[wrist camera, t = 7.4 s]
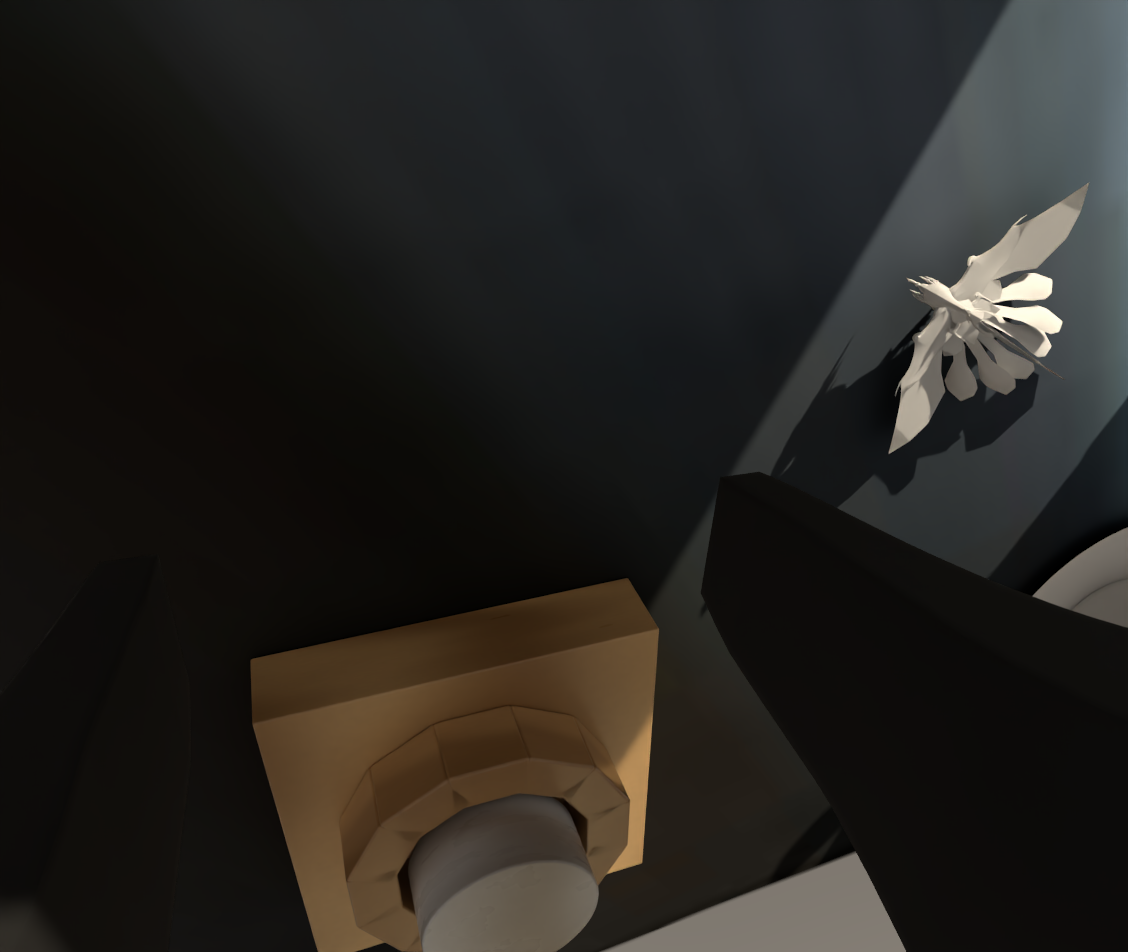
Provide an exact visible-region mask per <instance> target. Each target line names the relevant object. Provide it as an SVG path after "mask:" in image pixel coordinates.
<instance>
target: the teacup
mask: <svg viewBox="0 0 1128 952" xmlns="http://www.w3.org/2000/svg"><path fill="white" fill-rule="evenodd" d="M1033 597H1036V598H1038V599H1041V600H1044V601H1046V602H1049V603H1052V604H1055V605H1057V606H1060V607H1063V608H1066V609H1069V610H1072V611H1075V612H1078V613H1081V614H1084V615H1087V616H1090V617H1093V618H1097V619H1100V620H1103V621H1107V622H1110V623H1113V624H1117V625H1120V626H1123V627H1127V628H1128V528H1125V529H1123V530H1121V531H1118V532H1116V533H1114V534H1112V535H1110V536H1108V537H1107V538H1105V539H1103V540H1101V541H1099V542H1098V543H1096V544H1094V545H1093V546H1091V547H1090V548H1088V549H1087V550H1085V551H1084V552H1082V553H1081V554H1079V555H1078V556H1077V557H1075V558H1074V559H1073V560H1071V561H1070V562H1069V563H1067V564H1066V565H1065V566H1064V567H1063V568H1061V569H1060V570H1059V571H1058V572H1057V573H1055V574H1054V575H1053V576H1052V577H1051V578H1050V579H1049V580H1048V581H1047V582H1046V583H1045V584H1044V585H1043V586H1042V587H1041V588H1040V589H1039V590H1038V591H1037V592H1036V593H1035V594H1034V595H1033Z"/></svg>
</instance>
